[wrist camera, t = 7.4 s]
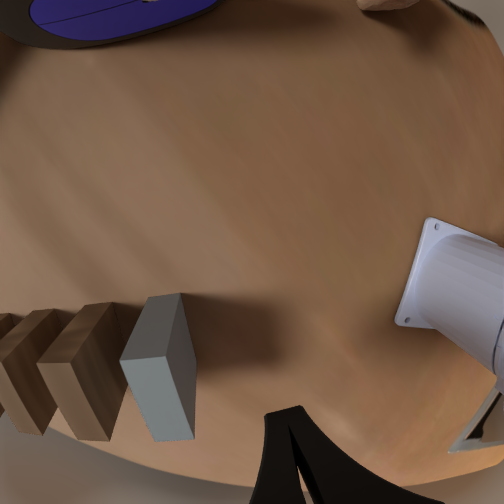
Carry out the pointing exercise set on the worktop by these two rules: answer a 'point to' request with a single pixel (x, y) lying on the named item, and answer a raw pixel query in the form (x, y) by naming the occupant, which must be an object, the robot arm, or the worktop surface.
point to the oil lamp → (384, 4)
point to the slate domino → (163, 369)
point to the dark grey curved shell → (92, 20)
